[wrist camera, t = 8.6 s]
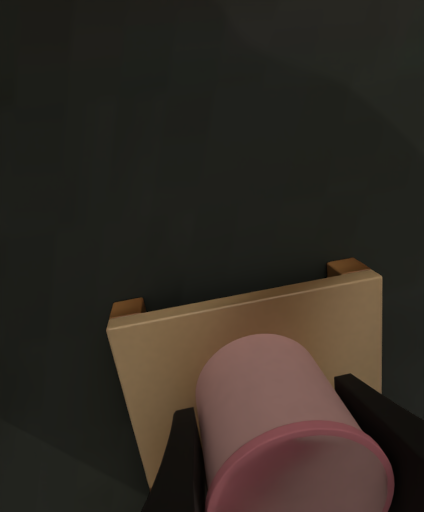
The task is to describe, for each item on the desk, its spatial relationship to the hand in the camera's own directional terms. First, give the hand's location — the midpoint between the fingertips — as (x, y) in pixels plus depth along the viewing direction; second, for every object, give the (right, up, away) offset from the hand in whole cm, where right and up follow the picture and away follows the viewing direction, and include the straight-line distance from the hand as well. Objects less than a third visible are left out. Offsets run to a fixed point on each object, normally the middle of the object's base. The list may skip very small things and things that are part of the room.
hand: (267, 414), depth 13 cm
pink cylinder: (0, 0, +1) cm, 1 cm away
